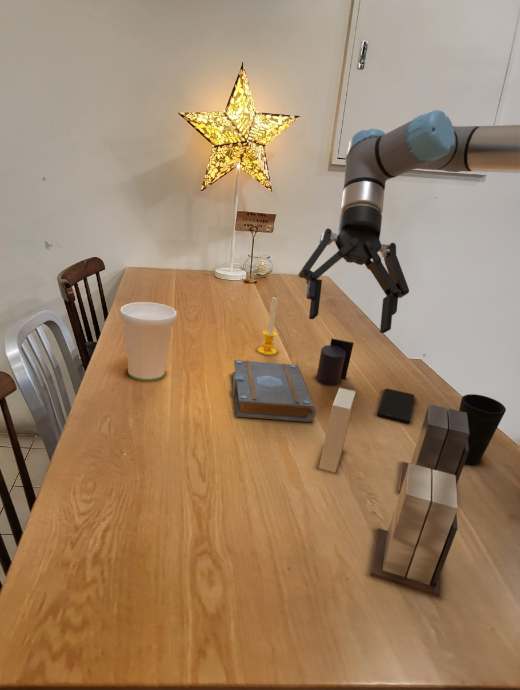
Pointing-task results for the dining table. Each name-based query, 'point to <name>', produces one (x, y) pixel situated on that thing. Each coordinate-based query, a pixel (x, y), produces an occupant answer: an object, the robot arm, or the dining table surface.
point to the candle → (270, 331)
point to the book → (271, 392)
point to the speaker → (334, 362)
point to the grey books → (441, 442)
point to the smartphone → (396, 405)
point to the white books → (418, 531)
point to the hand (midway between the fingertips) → (349, 324)
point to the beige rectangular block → (337, 429)
